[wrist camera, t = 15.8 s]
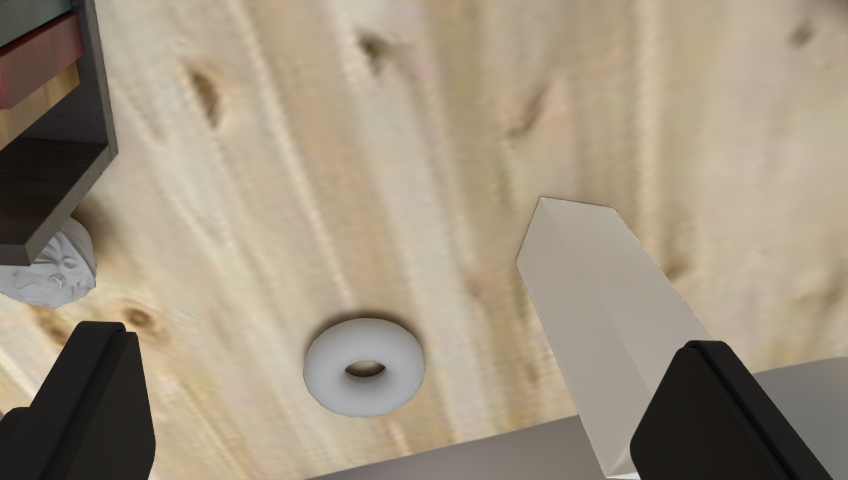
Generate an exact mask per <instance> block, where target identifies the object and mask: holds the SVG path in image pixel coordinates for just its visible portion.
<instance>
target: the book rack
mask: <svg viewBox="0 0 848 480" xmlns="http://www.w3.org/2000/svg"><path fill="white" fill-rule="evenodd" d="M117 154H118V149H117V143H116V137H115V131H114V124H113V118H112V112H111V105H110V99H109V93H108V87H107V80H106V74H105V68H104V62H103V55H102V49H101V43H100V37H99V30H98V24H97V18H96V12H95V5H94V0H0V265H5V266H27V267H29V266H31V265H32V263H33V262H34V261H35V259H36V258H37V257H38V256H39V254H40V253H41V252H42V250H43V249H44V248H45V247H46V245H47V244H48V243H49V241H50V240H51V239H52V238H53V236H54V235H55V234H56V232H57V231H58V230H59V229H60V227H61V226H62V225H63V223H64V222H65V221H66V220H67V218H68V217H69V216H70V214H71V213H72V212H73V211H74V209H75V208H76V207H77V205H78V204H79V203H80V202H81V200H82V199H83V198H84V196H85V195H86V194H87V193H88V191H89V190H90V189H91V187H92V186H93V185H94V184H95V182H96V181H97V180H98V178H99V177H100V176H101V175H102V173H103V172H104V171H105V169H106V168H107V167H108V166H109V164H110V163H111V161H113V159H114V158H115V157H116V155H117Z"/></svg>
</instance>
